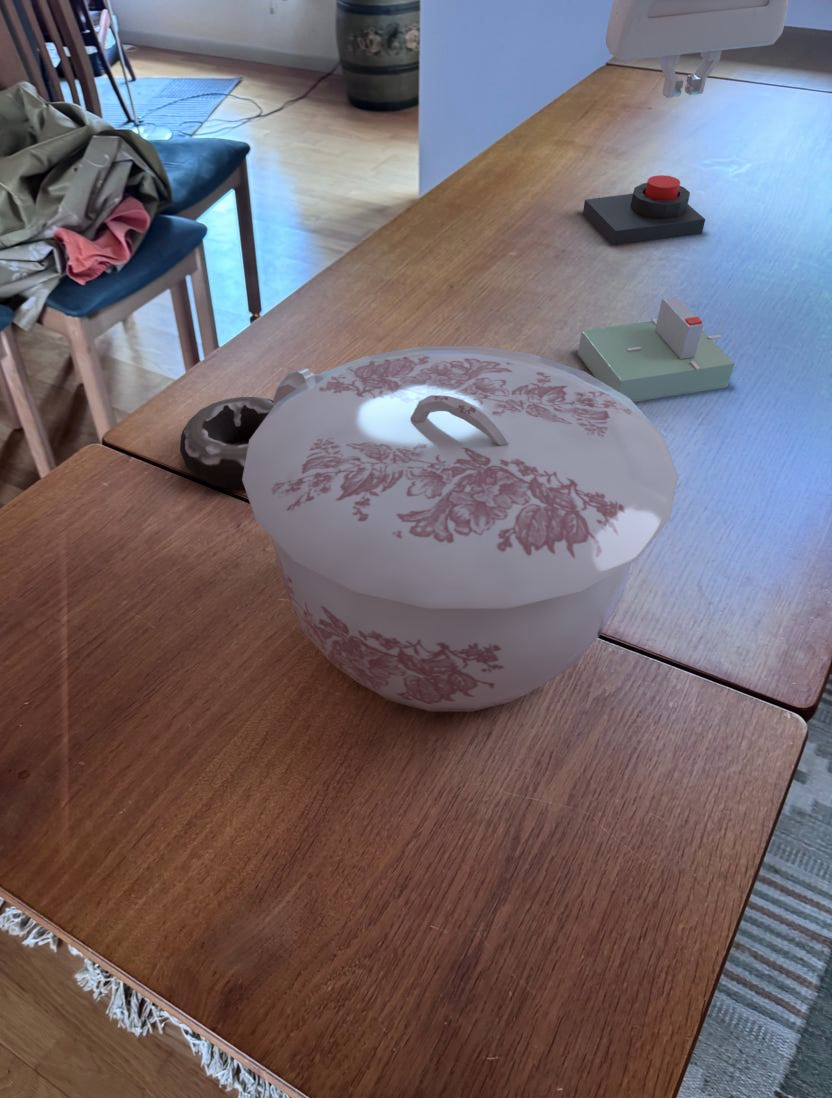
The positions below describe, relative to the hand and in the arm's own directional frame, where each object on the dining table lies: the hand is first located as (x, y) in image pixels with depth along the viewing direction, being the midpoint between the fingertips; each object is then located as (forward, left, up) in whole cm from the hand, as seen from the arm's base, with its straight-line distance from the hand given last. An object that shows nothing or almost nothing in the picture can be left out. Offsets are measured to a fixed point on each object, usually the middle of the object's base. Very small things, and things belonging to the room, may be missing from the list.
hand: (682, 94), depth 107 cm
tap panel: (+16, +33, -15) cm, 40 cm away
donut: (+59, +37, -15) cm, 71 cm away
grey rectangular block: (+14, +33, -12) cm, 38 cm away
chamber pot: (+47, +63, -15) cm, 80 cm away
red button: (0, 0, -12) cm, 12 cm away
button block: (+2, 0, -15) cm, 15 cm away
